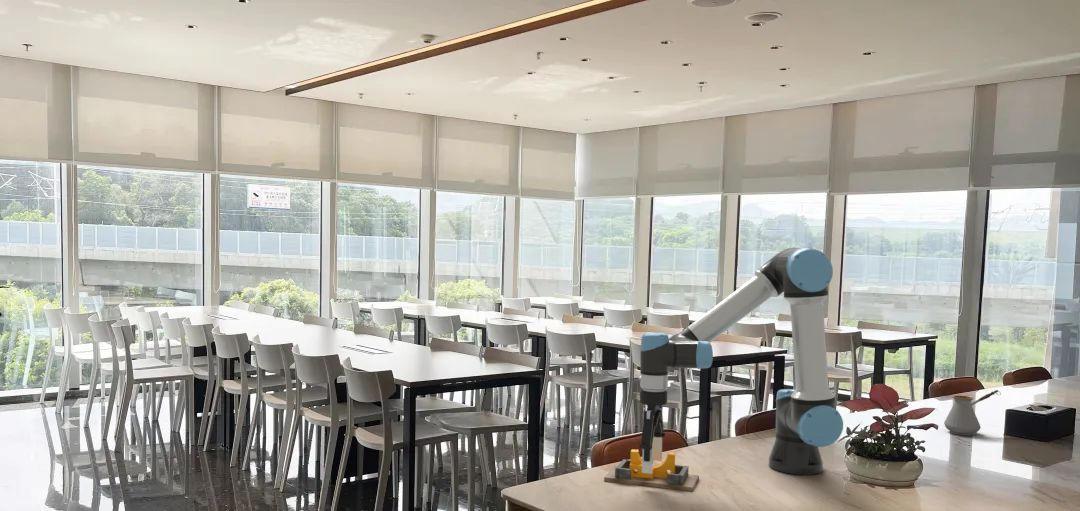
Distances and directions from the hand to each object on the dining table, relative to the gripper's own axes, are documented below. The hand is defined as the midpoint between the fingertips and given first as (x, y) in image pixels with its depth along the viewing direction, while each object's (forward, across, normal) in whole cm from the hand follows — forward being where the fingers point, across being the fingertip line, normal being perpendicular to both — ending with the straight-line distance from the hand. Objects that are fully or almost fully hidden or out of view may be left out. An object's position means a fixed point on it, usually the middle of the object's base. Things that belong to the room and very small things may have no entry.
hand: (652, 466), depth 218 cm
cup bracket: (+4, 0, 0) cm, 4 cm away
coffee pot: (+4, -102, +96) cm, 140 cm away
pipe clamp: (+3, 0, 0) cm, 3 cm away
